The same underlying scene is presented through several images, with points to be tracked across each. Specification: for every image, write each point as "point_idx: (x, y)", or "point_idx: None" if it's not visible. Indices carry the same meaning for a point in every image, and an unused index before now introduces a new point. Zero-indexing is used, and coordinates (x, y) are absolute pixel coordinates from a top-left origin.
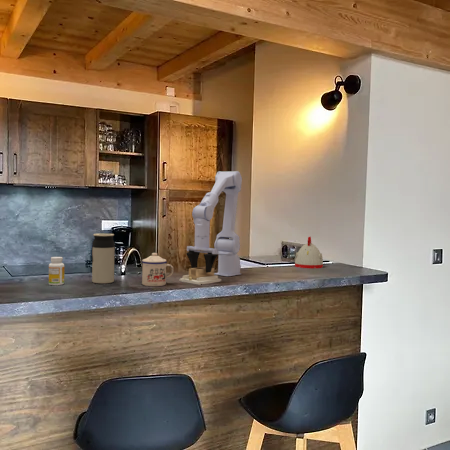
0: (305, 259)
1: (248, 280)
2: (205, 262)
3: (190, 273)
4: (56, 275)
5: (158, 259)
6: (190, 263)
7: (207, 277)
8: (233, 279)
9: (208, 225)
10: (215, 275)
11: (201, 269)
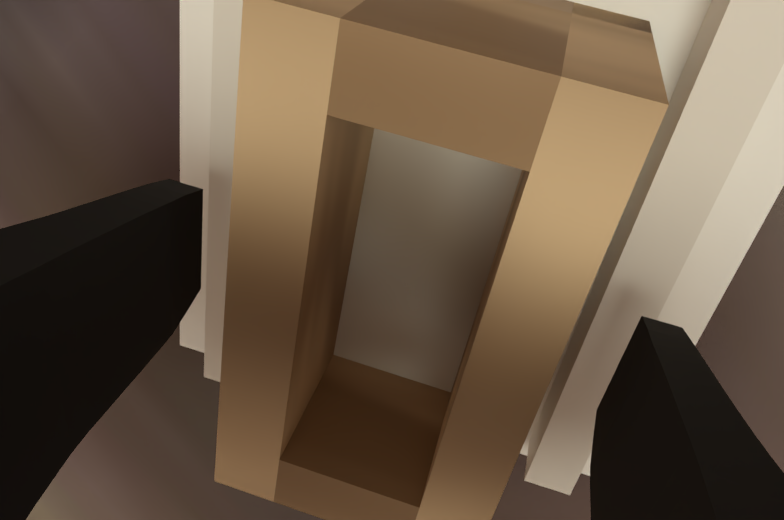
0: None
1: (50, 500)
2: (16, 277)
3: (587, 43)
4: None
5: None
6: (758, 442)
7: (212, 131)
8: (198, 504)
9: None
10: None
11: (256, 166)
